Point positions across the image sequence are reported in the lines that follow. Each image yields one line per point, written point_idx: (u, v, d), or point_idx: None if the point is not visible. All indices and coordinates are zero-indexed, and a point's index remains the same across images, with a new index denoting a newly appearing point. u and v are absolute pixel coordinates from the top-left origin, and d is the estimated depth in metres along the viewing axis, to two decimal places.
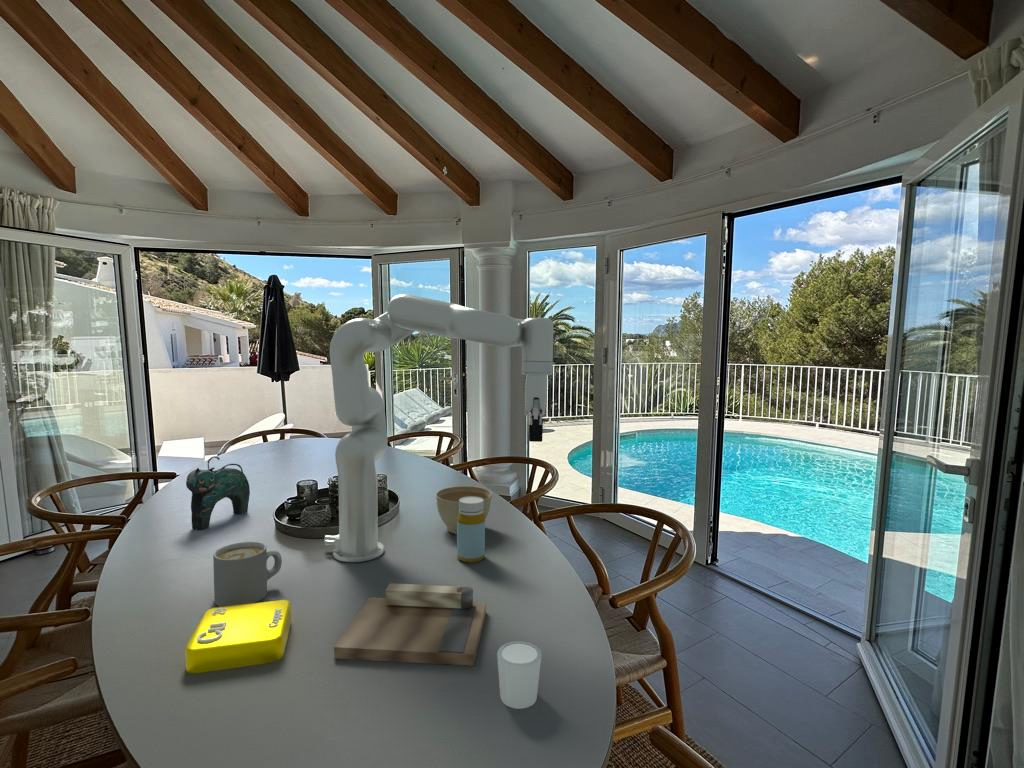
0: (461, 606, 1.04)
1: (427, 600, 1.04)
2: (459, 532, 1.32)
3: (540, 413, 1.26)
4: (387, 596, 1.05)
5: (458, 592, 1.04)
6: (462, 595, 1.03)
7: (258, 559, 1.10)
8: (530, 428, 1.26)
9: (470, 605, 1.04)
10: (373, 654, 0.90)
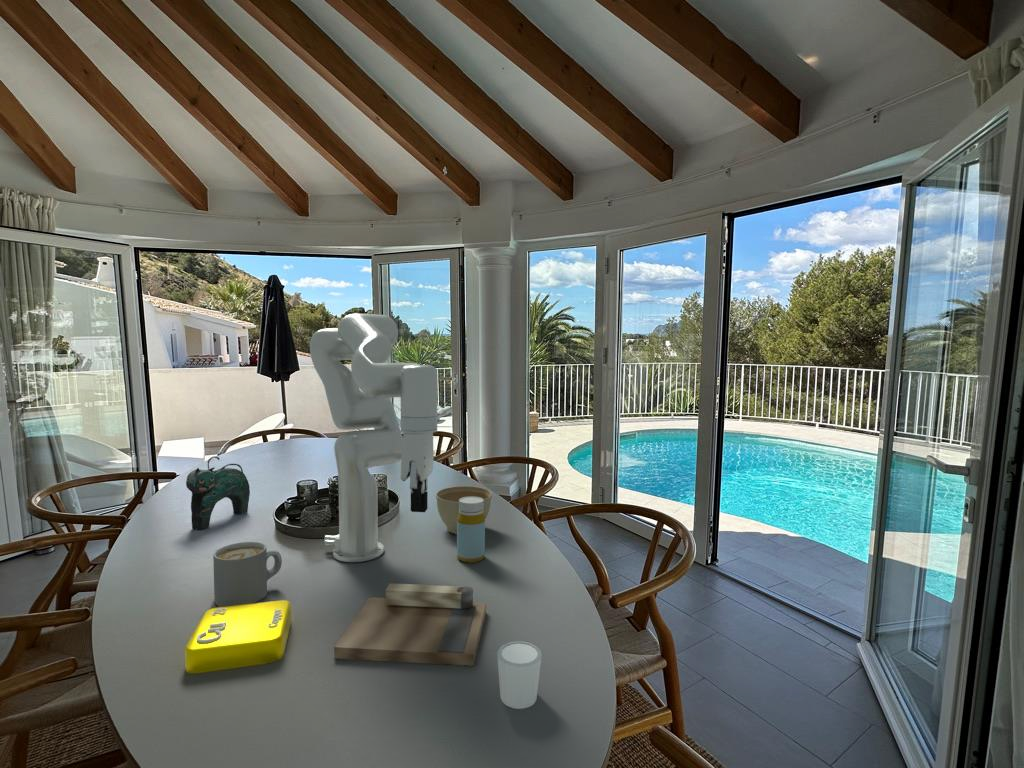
0: (461, 606, 1.04)
1: (427, 600, 1.04)
2: (459, 532, 1.32)
3: (421, 482, 1.09)
4: (387, 596, 1.05)
5: (458, 592, 1.04)
6: (462, 595, 1.03)
7: (258, 559, 1.10)
8: (412, 497, 1.11)
9: (470, 605, 1.04)
10: (373, 654, 0.90)
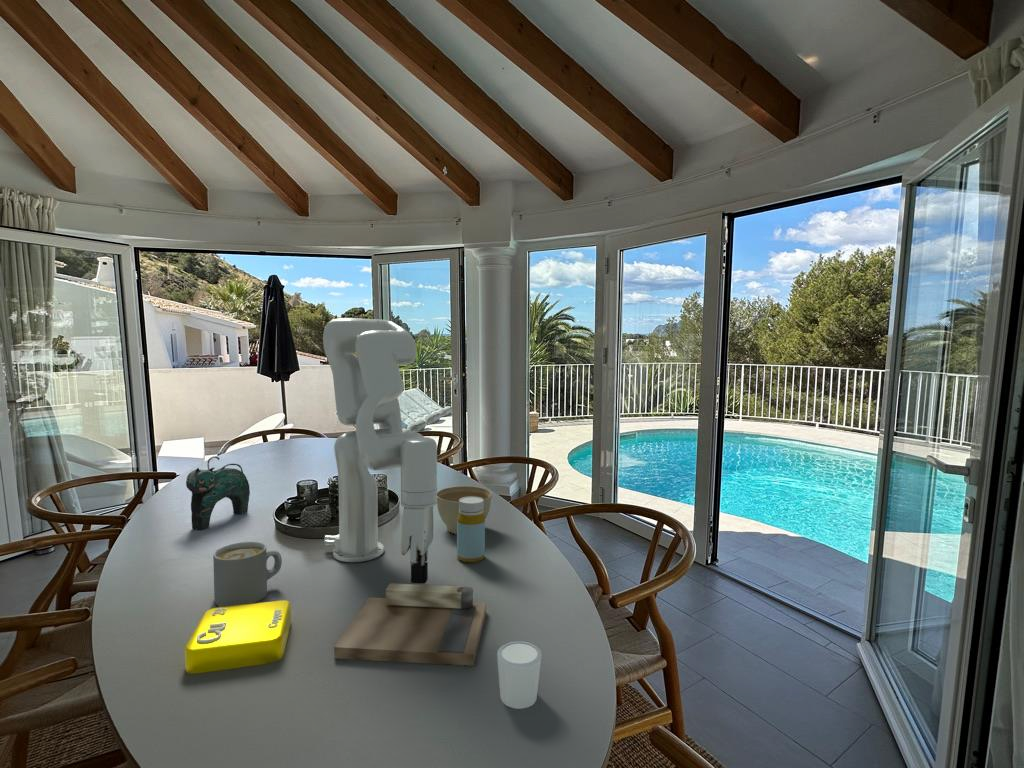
0: (461, 606, 1.04)
1: (427, 600, 1.04)
2: (459, 532, 1.32)
3: (421, 554, 1.10)
4: (387, 596, 1.05)
5: (458, 592, 1.04)
6: (462, 595, 1.03)
7: (258, 559, 1.10)
8: (412, 568, 1.12)
9: (470, 605, 1.04)
10: (373, 654, 0.90)
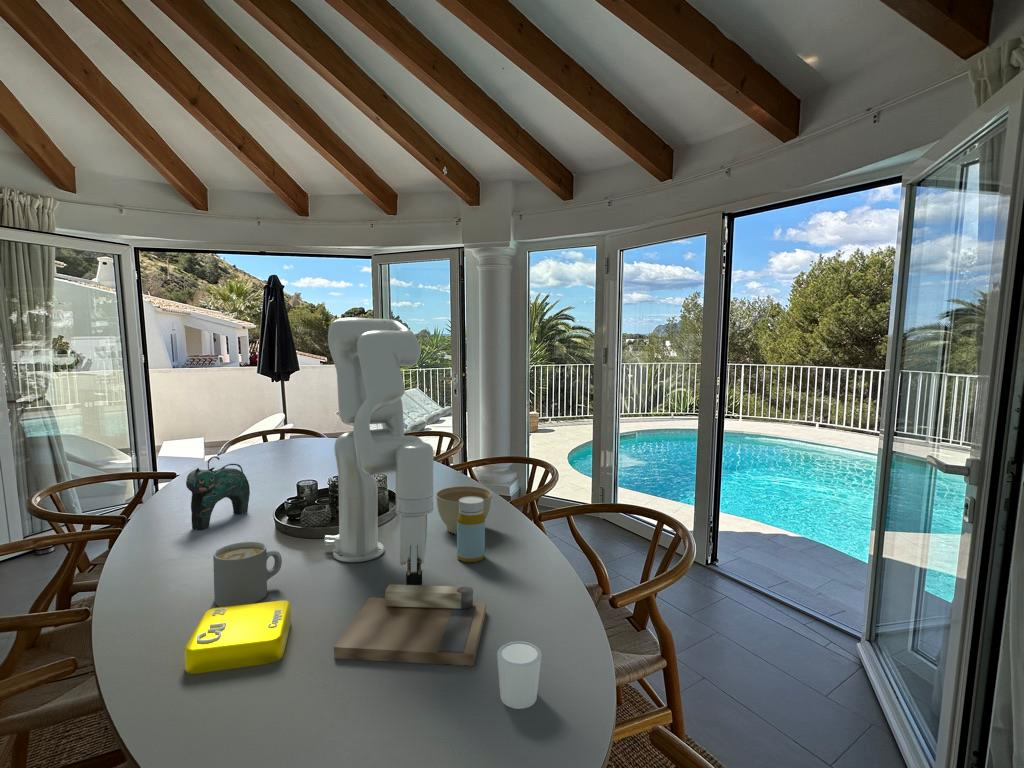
0: (461, 606, 1.04)
1: (427, 601, 1.04)
2: (459, 532, 1.32)
3: (419, 563, 1.07)
4: (386, 597, 1.04)
5: (458, 592, 1.04)
6: (462, 595, 1.03)
7: (258, 559, 1.10)
8: (407, 578, 1.08)
9: (470, 605, 1.04)
10: (373, 654, 0.90)
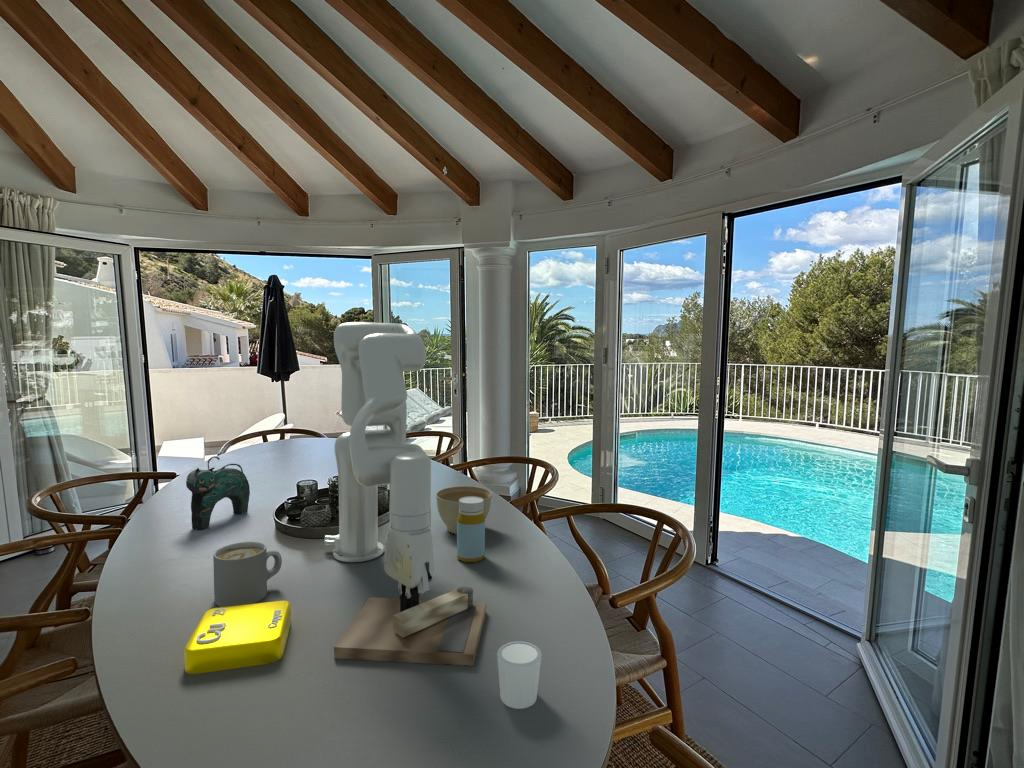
0: (468, 606, 1.04)
1: (440, 614, 0.99)
2: (459, 532, 1.32)
3: None
4: (404, 628, 0.93)
5: (464, 593, 1.03)
6: (469, 594, 1.04)
7: (258, 559, 1.10)
8: (406, 602, 0.98)
9: (472, 602, 1.05)
10: (373, 654, 0.90)
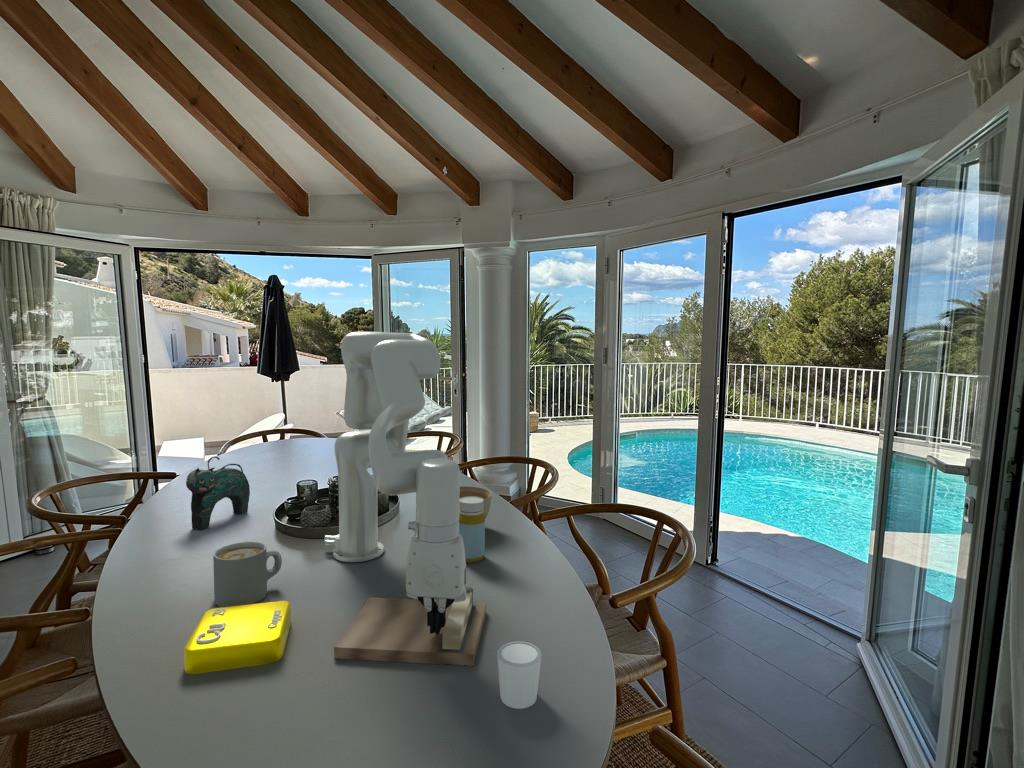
0: (472, 604, 1.05)
1: (467, 617, 0.98)
2: (459, 532, 1.32)
3: None
4: (460, 639, 0.90)
5: (469, 593, 1.04)
6: (472, 592, 1.05)
7: (258, 559, 1.10)
8: (439, 617, 0.93)
9: None
10: (373, 654, 0.90)
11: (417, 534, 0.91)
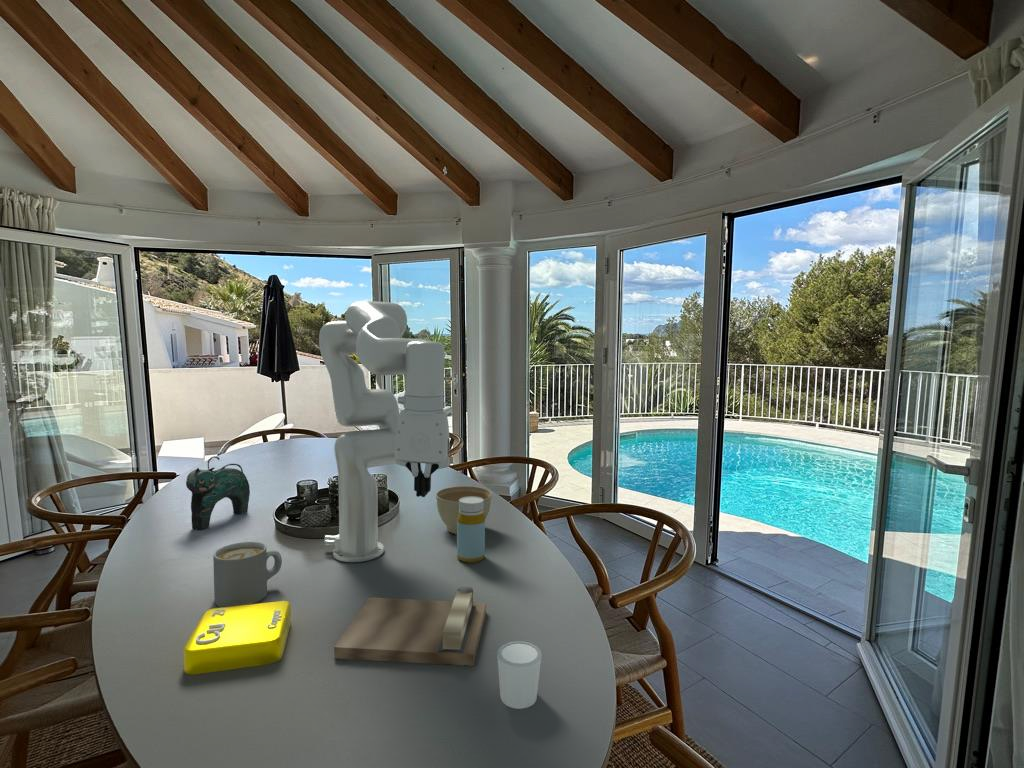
0: (472, 604, 1.05)
1: (467, 617, 0.98)
2: (459, 532, 1.32)
3: None
4: (460, 639, 0.90)
5: (469, 593, 1.04)
6: (472, 592, 1.05)
7: (258, 559, 1.10)
8: (424, 481, 1.04)
9: None
10: (373, 654, 0.90)
11: (406, 405, 1.02)
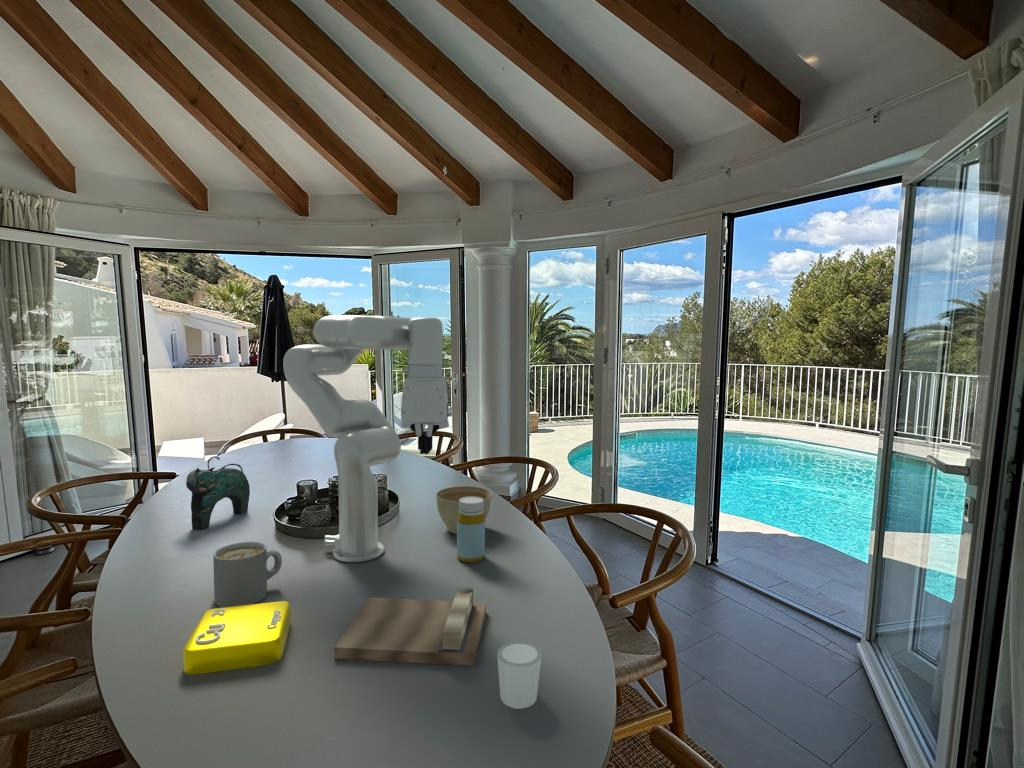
0: (472, 604, 1.05)
1: (467, 617, 0.98)
2: (459, 532, 1.32)
3: (435, 423, 1.21)
4: (460, 639, 0.90)
5: (469, 593, 1.04)
6: (472, 592, 1.05)
7: (258, 559, 1.10)
8: (427, 440, 1.19)
9: None
10: (373, 654, 0.90)
11: (409, 373, 1.18)
